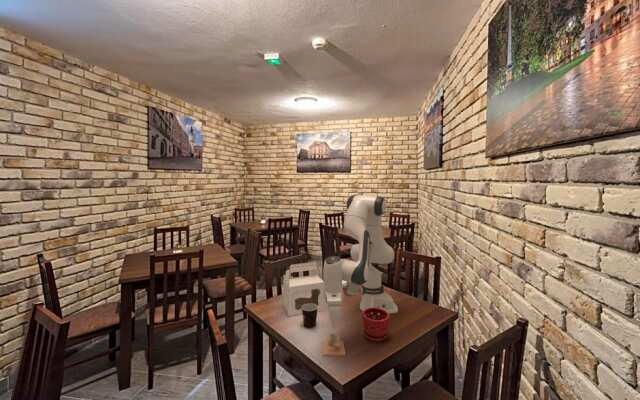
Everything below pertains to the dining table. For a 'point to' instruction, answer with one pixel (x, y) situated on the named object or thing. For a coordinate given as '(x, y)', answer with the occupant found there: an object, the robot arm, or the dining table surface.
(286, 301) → the gable box
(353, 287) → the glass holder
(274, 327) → the dining table surface
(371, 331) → the plant pot
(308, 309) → the coffee mug
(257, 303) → the dining table surface
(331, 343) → the beech cube
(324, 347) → the plate
